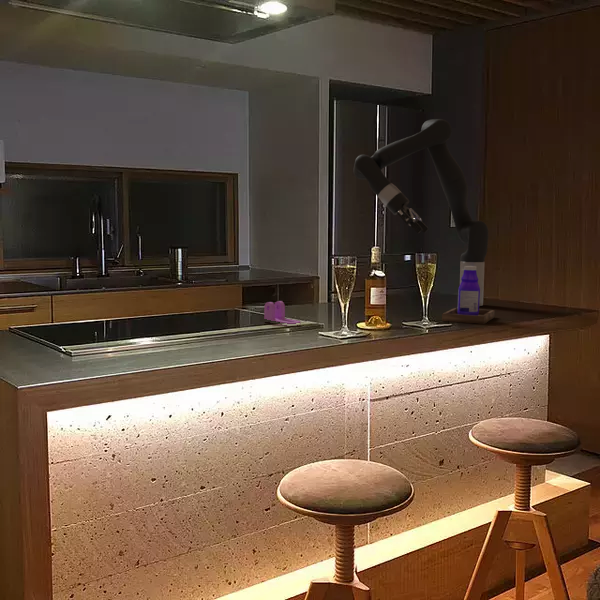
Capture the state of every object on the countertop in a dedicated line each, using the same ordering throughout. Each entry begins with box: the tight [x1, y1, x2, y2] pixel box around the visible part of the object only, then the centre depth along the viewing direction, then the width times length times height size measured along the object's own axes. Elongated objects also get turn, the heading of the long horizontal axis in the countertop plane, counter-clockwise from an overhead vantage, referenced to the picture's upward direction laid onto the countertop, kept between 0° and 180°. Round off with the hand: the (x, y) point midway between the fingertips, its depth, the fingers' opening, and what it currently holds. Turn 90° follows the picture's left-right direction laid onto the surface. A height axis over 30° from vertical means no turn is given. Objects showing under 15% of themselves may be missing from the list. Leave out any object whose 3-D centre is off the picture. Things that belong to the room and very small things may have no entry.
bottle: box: [457, 266, 480, 316], centre depth 266 cm, size 7×6×17 cm
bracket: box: [263, 300, 301, 324], centre depth 251 cm, size 13×6×7 cm, turn 43°
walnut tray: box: [441, 307, 495, 325], centre depth 267 cm, size 18×14×2 cm
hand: (423, 231), depth 280 cm, fingers open, 8 cm apart
